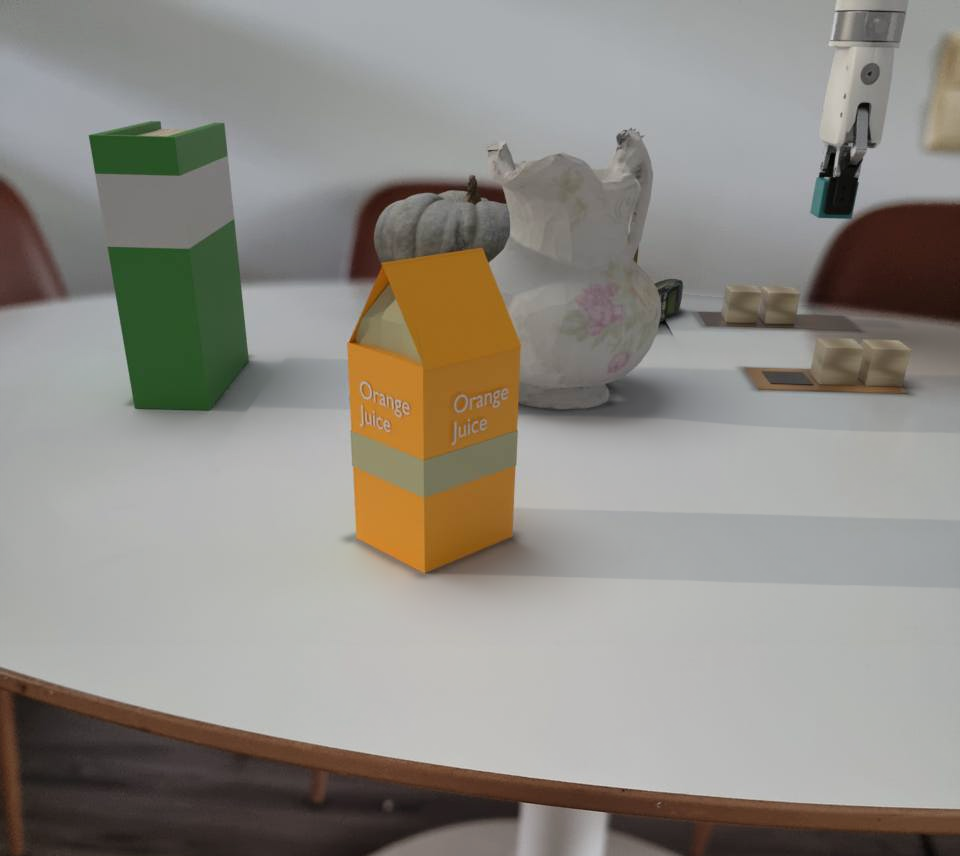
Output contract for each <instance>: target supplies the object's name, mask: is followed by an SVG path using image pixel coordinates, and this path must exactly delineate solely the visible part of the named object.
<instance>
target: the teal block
mask: <svg viewBox="0 0 960 856" xmlns="http://www.w3.org/2000/svg"><path fill="white" fill-rule="evenodd" d="M828 183H829V177H824V178H821V177H819V176H818V177H816V179H815V183H814V190H813V195H812V201H811V206H810V211H809V213H810V214H811V215H812V216H814V217H816V218H818V219H835V220H836V219H838V220H839V219H840V220H841V219H842V220H844V219H845V220H852V218H853V214H854V209H855V205H856V199H857V194H858V190H859V184H860V182H859V181H858V183H857V188H856V193H855V198H854V203H853V208H852V212H851V214H850V215H828V214H825V213H824V212H823V209H824V204H825V198H826V193H827V188H828Z"/></svg>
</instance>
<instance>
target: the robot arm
mask: <svg viewBox="0 0 960 856" xmlns="http://www.w3.org/2000/svg"><path fill="white" fill-rule="evenodd" d="M909 1H910V0H835V8H834V12H833V16H832V17H833V18H832V23H831V29H830V35H829V41H828V47H832V48H833V47H834V48H835V52H834V55H833V60H832V64H831V66H830V72H829V76H828V80H827V81H828V82H827V86H826V92H825V97H824V100H823V101H824V102H823V105H822V106H823V107H822V111H821V116H820V117H821V118H820V125H819V133H818V135H819V139H820V140H821V141H822V142H823V144H824V148H823V150H822V151H823V152H822V158H821V161H820V168H819V173H818V177H821V178H824V177H829V183H828V188H827V193H826V198H825V204H824V209H823V212H824V213H825V214H828V215H850V214H851V212H852V208H853V203H854V198H855V193H856V188H857V183H858V182H859V177H860V175H861V171H862V170H861V169H862V163H863V161H864V157H865V155H866V153H867V151H868V149H876V148H877V147H879V145H880V144H881V142H882V138H883V133H884V126H885V121H886V115H887V111H888V103H889V98H890V97H889V96H890V91H891V84H892V78H893V69H894V59H895V49H900V45H901V40H902V35H903V31H904V25H905V22H906V16H907V11H908V7H909V3H910V2H909Z"/></svg>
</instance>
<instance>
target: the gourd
mask: <svg viewBox="0 0 960 856" xmlns="http://www.w3.org/2000/svg"><path fill="white" fill-rule="evenodd" d="M509 236H510V214H509V210H508V206H507V203H501V202H498V201H492V200H489V199H488V198H486V197H482V195H481V192H480V189H479V186H478V180H477V178H476V175H474V174H470V175H469V176H468V181H467V191H465V190H447V191H444V192H441V193H438V194H437V193H434V192H423V193H417V194H413V195H410V196H408V197H407V198H405V199H400V200H397V201H394V202H393V203H390V204H389V205H388V206H386V207H385V208H384V210H382V212H381V213H380V215H379V216H378V218H377V221H376V224H375V227H374V232H373V242H374V243H373V244H374V248H375V252H376V255H377V259H378V261H379V263H380V265H381V267H382V264H381V263H384V262H391V261H397V260H404V259H410V258H417V257H424V256H430V255H437V254H444V253H450V252H457V251H463V250H470V249H477V248H483V251H484V253H485V256H486V258H487V261H488V263H489V262H490V261H491V260H493V259H494V258H495V257H496V256H497V255H498V254H499V253H500V252H501V251H502V250H503V249H504V247H505V245H506V243H507V240H508V238H509Z"/></svg>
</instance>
